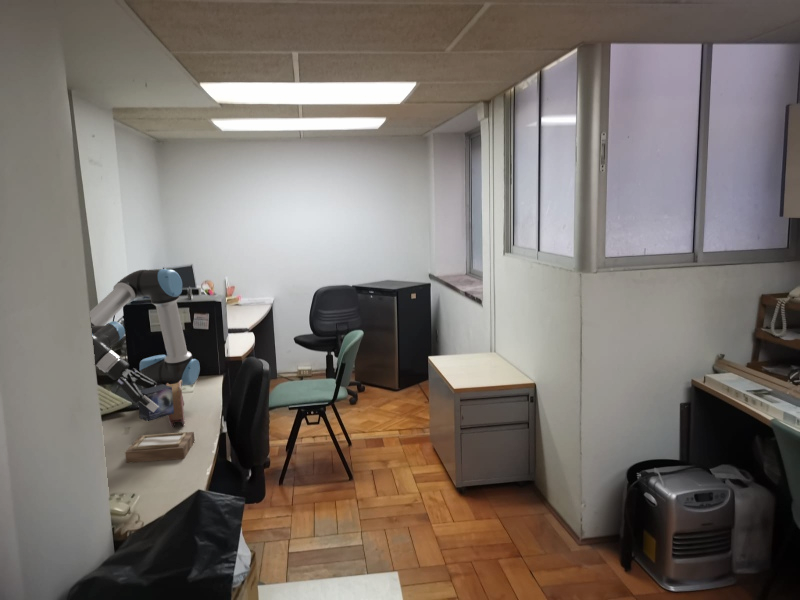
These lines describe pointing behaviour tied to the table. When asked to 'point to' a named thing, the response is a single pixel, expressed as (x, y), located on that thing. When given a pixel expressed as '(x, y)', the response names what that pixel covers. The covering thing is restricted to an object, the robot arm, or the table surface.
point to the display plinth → (160, 447)
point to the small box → (157, 402)
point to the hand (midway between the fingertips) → (161, 404)
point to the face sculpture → (177, 404)
